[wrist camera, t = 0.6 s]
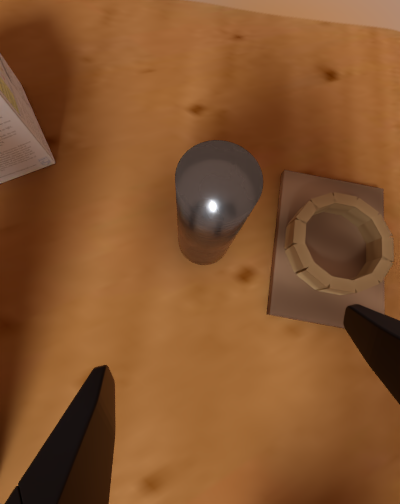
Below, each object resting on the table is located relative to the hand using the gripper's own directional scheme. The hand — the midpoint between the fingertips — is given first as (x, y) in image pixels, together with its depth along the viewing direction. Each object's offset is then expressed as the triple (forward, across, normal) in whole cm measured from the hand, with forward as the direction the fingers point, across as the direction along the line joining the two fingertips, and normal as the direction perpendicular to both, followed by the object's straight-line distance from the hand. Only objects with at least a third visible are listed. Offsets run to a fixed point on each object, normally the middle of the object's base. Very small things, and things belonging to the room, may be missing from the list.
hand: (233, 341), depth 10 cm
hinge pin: (+15, -2, +3) cm, 15 cm away
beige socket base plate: (+13, -13, +5) cm, 19 cm away
